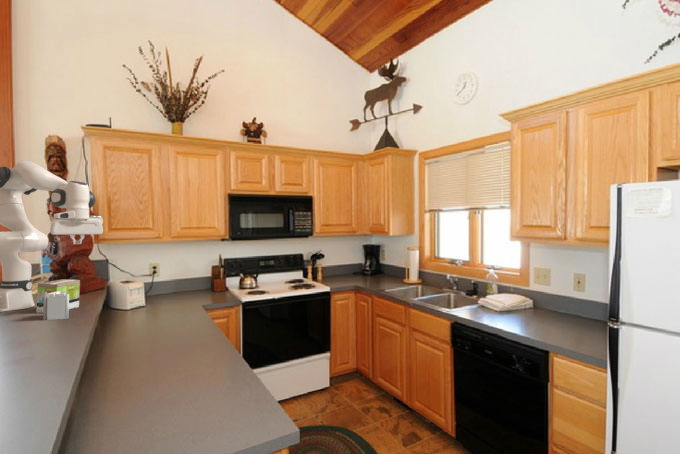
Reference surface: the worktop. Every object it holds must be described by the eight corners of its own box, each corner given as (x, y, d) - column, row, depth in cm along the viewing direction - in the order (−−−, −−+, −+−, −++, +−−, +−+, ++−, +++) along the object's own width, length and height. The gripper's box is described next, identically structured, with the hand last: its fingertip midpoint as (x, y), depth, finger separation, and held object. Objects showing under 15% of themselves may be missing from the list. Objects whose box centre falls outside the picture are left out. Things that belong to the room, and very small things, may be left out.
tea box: (56, 314, 170) (56, 283, 170) (35, 313, 170) (36, 283, 170) (79, 307, 185) (80, 279, 185) (61, 306, 185) (61, 278, 185)
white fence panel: (42, 320, 157) (42, 292, 157) (56, 315, 167) (57, 288, 167) (45, 320, 158) (45, 292, 158) (59, 315, 167) (60, 288, 167)
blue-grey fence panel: (47, 319, 158) (47, 294, 158) (48, 319, 159) (48, 293, 159) (68, 318, 161) (68, 293, 161) (69, 317, 162) (69, 293, 162)
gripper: (101, 215, 179) (100, 243, 179) (49, 214, 163) (48, 244, 163) (105, 215, 175) (104, 243, 175) (52, 214, 159) (52, 245, 159)
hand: (77, 244), depth 169 cm, fingers closed
